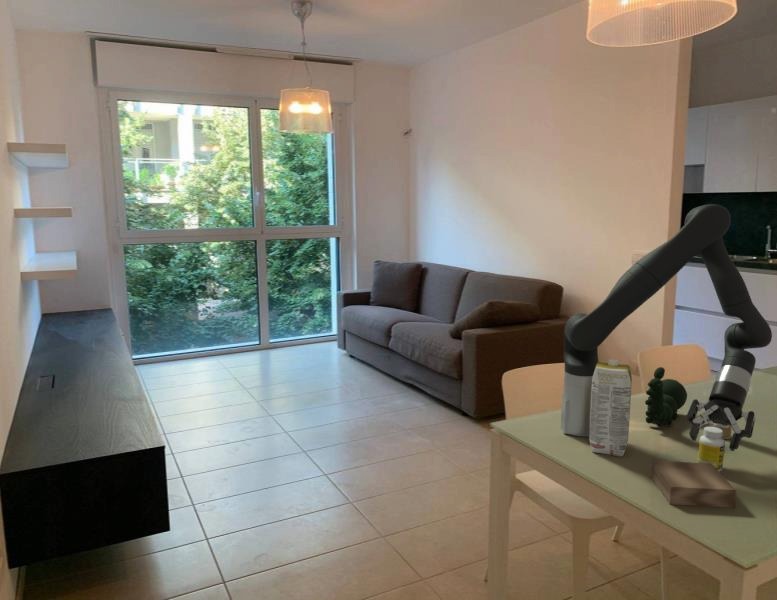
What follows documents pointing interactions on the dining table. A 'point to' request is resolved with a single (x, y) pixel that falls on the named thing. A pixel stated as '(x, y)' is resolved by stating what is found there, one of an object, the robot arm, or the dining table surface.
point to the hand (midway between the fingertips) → (711, 444)
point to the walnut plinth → (693, 484)
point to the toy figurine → (664, 399)
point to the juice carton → (610, 408)
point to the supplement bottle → (712, 447)
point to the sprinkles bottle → (724, 430)
